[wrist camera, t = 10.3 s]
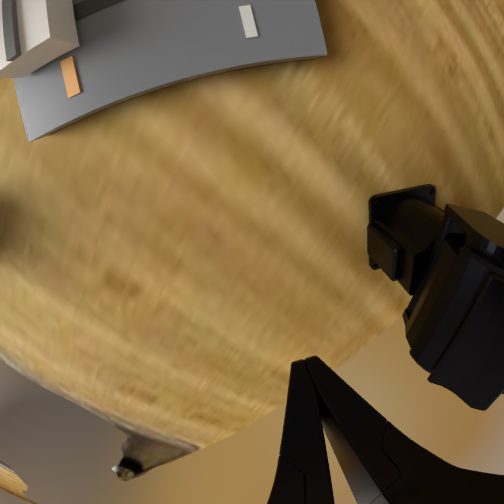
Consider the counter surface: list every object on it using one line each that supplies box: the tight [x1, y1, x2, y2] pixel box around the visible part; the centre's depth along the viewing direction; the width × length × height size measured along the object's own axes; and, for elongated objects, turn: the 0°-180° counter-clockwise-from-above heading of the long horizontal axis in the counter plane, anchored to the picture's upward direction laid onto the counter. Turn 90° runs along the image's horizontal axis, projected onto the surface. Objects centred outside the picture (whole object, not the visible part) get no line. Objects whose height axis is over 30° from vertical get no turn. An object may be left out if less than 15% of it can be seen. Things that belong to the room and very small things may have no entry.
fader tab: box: [0, 0, 79, 78], centre depth 8 cm, size 4×5×4 cm
